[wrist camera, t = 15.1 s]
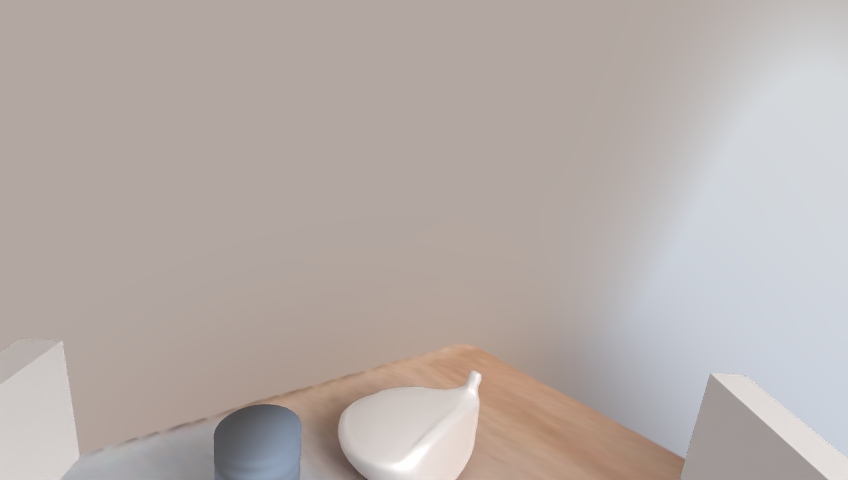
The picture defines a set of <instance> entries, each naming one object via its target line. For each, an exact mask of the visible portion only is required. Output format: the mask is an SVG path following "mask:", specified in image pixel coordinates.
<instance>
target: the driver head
mask: <svg viewBox="0 0 848 480" xmlns="http://www.w3.org/2000/svg"><path fill="white" fill-rule="evenodd" d="M481 379H482V376H481V374H480V373H479V372H477V371H475V370H472V371H470V373H469V376H468V379H467V381H466V383H465V385H463V386H461V387H458V388H453V389H434V388H425V387H397V388H390V389H385V390H382V391H380V392H377V393H375V394H372V395H369V396H366V397H363V398H361V399H359V400H357V401H355V402H353V403H352V404H350V405H349V406H348V407H347V408H346V409H345V410H344V411H343V413H342V415H341V417H340V420H339V425H338V437H339V442H340V445H341V448H342V450H343V452H344V454H345V456H346V457H347V459H348V460H349V462H350V463H351V464H352V465H353V466H354V468H355V469H356V470H357V471H358V472H359V473H360V474H362V475H363V476H364V477H365V478H367V479H368V480H455V479H456V478H457V477H458V476H459V475H460V473H461V472H462V470H463V469H464V467H465V465H466V464H467V462H468V460H469V458H470V456H471V454H472V451H473V448H474V444H475V434H476V429H477V423H478V414H479V405H480V400H479V396H478V386H479V384H480V382H481Z"/></svg>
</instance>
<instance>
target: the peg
mask: <svg viewBox="0 0 848 480" xmlns="http://www.w3.org/2000/svg"><path fill="white" fill-rule="evenodd" d="M300 452H301V421H300V419H299V417H298V416H297V415H296V414H295V413H294V412H293V411H291V410H289V409H287V408H285V407H282V406H278V405H270V404H262V405H253V406H249V407H245V408H242V409H239V410H237V411H235V412H233V413H231V414H230V415H228V416H227V417H225V418H224V419H223V420H222V421H221V422H220V423H219V425H218V426H217V428H216V430H215V433H214V463H215V480H299V477H300Z"/></svg>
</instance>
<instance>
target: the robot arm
mask: <svg viewBox="0 0 848 480" xmlns="http://www.w3.org/2000/svg"><path fill="white" fill-rule="evenodd" d="M79 458H80V453H79V447H78V440H77V433H76V427H75V420H74V413H73V407H72V400H71V393H70V387H69V380H68V373H67V367H66V360H65V354H64V347H63V341H62V340H49V339H28V338H21V339H19V340H17V341H16V342H14V343H13V344H11V345H9V346H8V347H6V348H5V349H3V350H2V351H0V480H60V479H61V478H62V477H63V476H64V475H65V474H66V473H67V471H68V470H69V469H70V468H71V467H72V466H73V465H74V464H75V463H76V461H77V460H78V459H79ZM680 480H848V459H847V458H846V457H845V456H843V455H842V454H841V453H840V452H838V451H837V450H836V449H835V448H834V447H832V446H831V445H830V444H829V443H827V442H826V441H825V440H824V439H823V438H821V437H820V436H819V435H818V434H817V433H815V432H814V431H813V430H811V429H810V428H809V427H808V426H807V425H805V424H804V423H803V422H801V420H799V419H798V418H797V417H796V416H794V415H793V414H792V413H791V412H790V411H788V410H787V409H786V408H785V407H783V406H782V405H781V404H780V403H778V402H777V401H776V400H774V399H773V398H772V397H771V396H770V395H769V394H767V393H766V392H765V391H764V390H762V389H761V388H760V387H759V386H758V385H756V384H755V383H754V382H753V381H751V380H750V379H749V378H748V377H747V376H745V375H734V374H713V373H710V376H709V379H708V383H707V387H706V390H705V393H704V397H703V400H702V404H701V407H700V411H699V414H698V418H697V422H696V425H695V428H694V432H693V435H692V438H691V442H690V445H689V449H688V452H687V456H686V459H685V463H684V466H683V470H682V473H681V477H680Z"/></svg>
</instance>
